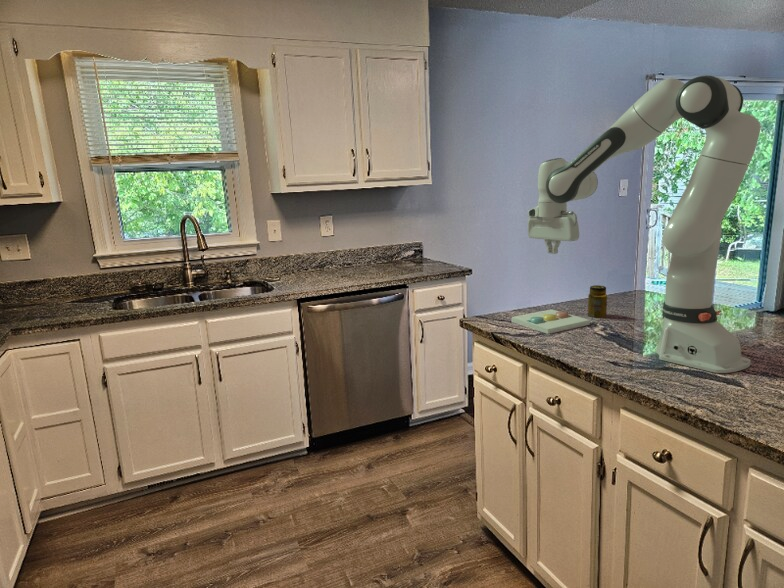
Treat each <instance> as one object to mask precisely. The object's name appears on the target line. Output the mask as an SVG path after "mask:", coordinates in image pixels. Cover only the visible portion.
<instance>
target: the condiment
mask: <svg viewBox="0 0 784 588" xmlns="http://www.w3.org/2000/svg"><path fill="white" fill-rule="evenodd" d="M587 297H588V300H587V303H588V304H587V316H588V317H589V318H592V319H605V318H606V317H607V305H608V304H607V303H608V296H607V287H606V286H605V285H590V287H589V294H588V295H587Z"/></svg>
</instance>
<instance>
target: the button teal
mask: <svg viewBox="0 0 784 588" xmlns="http://www.w3.org/2000/svg"><path fill="white" fill-rule="evenodd" d="M531 323H534V324H540V323H544V318H542V317H531Z"/></svg>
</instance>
